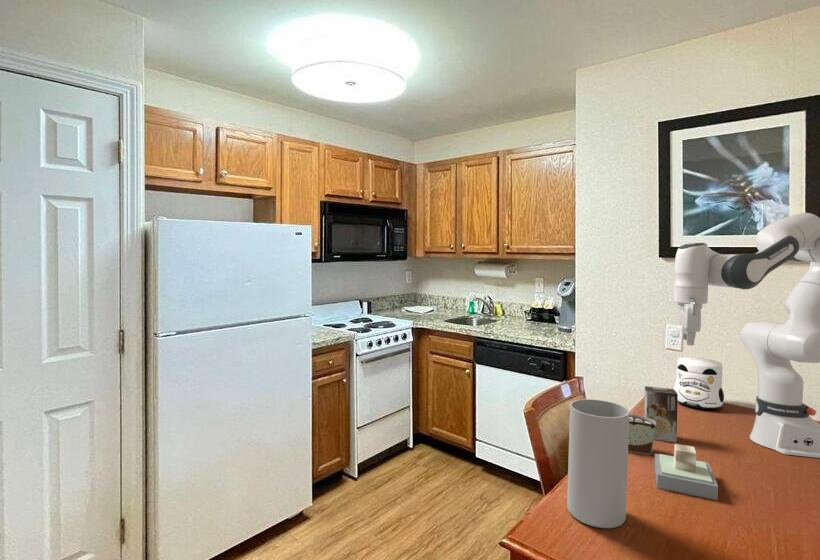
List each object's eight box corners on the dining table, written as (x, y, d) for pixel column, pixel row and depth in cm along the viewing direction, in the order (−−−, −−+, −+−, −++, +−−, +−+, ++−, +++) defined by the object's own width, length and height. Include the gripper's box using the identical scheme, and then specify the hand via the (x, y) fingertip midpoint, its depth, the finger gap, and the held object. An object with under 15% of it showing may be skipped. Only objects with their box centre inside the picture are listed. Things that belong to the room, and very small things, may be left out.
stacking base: (708, 475, 122) (709, 461, 122) (717, 500, 110) (718, 484, 109) (654, 465, 128) (655, 451, 128) (657, 487, 115) (657, 472, 115)
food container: (653, 447, 140) (654, 416, 140) (656, 455, 134) (658, 423, 134) (610, 441, 144) (611, 411, 144) (612, 449, 138) (613, 417, 138)
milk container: (683, 410, 175) (685, 365, 174) (666, 397, 192) (667, 355, 191) (732, 413, 172) (734, 367, 171) (710, 399, 189) (712, 357, 188)
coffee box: (673, 435, 150) (675, 388, 149) (676, 443, 144) (678, 394, 143) (642, 431, 153) (644, 385, 152) (644, 438, 147) (646, 390, 146)
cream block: (693, 465, 120) (693, 446, 119) (695, 472, 116) (696, 453, 115) (673, 461, 122) (674, 443, 121) (675, 468, 118) (676, 450, 117)
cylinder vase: (596, 535, 95) (600, 420, 94) (555, 505, 107) (558, 402, 105) (638, 522, 100) (642, 413, 99) (594, 495, 112) (598, 396, 110)
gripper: (708, 300, 124) (705, 349, 124) (698, 294, 142) (696, 338, 143) (681, 299, 126) (679, 347, 127) (675, 294, 145) (673, 336, 145)
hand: (688, 342), depth 135 cm, fingers open, 8 cm apart
